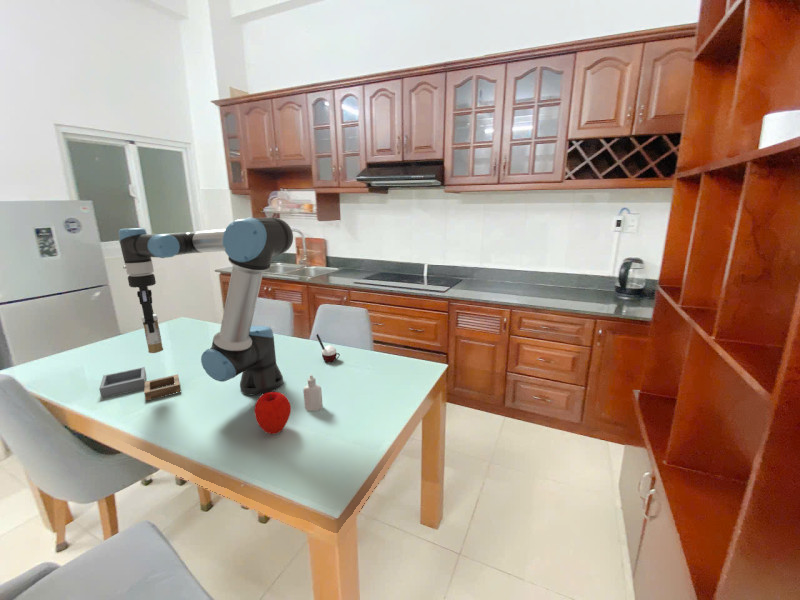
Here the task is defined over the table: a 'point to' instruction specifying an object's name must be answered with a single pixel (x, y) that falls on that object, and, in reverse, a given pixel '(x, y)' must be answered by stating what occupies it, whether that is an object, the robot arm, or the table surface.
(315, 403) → the eye dropper bottle
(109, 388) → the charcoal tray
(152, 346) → the sprinkles bottle
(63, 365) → the table surface
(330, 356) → the cocoa
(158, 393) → the walnut collar
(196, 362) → the table surface
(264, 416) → the apple
